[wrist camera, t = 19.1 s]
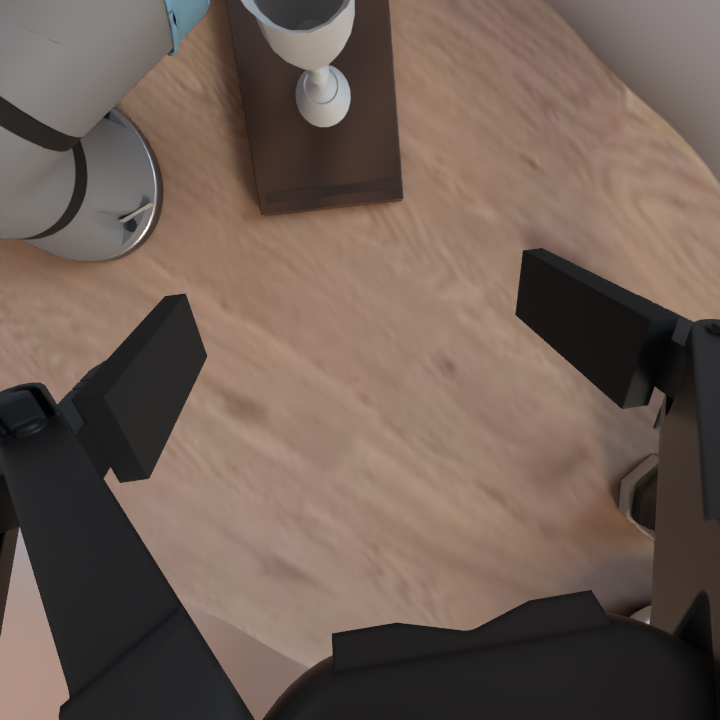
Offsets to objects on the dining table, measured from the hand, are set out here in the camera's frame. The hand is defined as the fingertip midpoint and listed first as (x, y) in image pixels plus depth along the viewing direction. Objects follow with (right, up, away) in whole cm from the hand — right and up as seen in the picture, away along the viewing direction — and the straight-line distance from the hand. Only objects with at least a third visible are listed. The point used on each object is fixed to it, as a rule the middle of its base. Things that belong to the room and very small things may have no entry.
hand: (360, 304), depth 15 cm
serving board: (-4, +23, +21) cm, 32 cm away
